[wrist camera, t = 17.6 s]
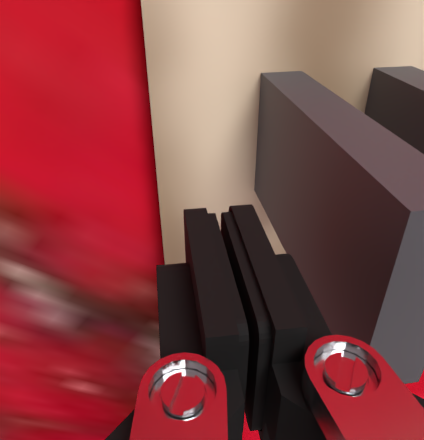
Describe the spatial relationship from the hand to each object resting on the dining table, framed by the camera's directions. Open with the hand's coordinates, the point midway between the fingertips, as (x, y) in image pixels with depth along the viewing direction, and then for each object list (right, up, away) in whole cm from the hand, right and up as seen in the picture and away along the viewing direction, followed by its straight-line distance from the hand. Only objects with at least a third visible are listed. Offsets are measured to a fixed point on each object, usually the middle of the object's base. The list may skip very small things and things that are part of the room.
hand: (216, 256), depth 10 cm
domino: (+3, +4, +6) cm, 8 cm away
